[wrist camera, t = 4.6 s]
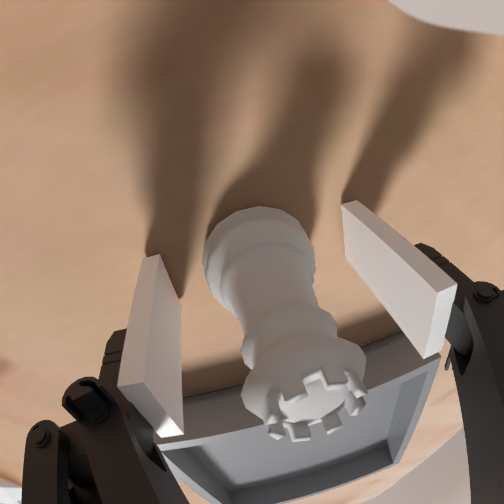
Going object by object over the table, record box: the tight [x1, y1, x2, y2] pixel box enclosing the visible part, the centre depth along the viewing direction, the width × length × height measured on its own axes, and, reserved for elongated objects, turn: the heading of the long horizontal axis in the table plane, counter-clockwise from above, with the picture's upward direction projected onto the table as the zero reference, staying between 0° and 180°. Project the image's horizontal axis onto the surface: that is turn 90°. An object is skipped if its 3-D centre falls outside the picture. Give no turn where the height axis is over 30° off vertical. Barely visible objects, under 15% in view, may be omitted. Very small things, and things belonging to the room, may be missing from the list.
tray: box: [153, 331, 441, 504], centre depth 21 cm, size 18×18×3 cm
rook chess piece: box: [202, 206, 368, 442], centre depth 10 cm, size 4×4×8 cm
